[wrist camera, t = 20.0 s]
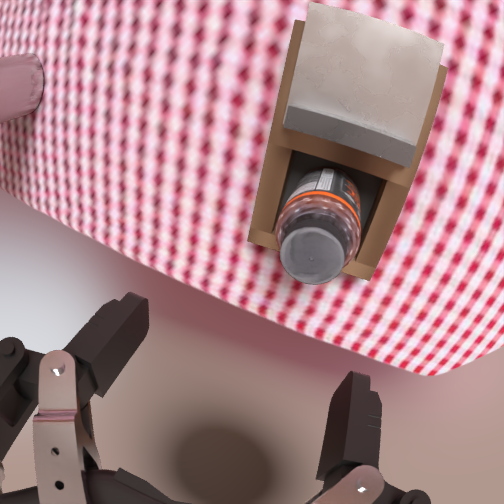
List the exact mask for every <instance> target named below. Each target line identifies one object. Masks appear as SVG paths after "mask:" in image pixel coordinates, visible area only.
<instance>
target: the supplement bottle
mask: <svg viewBox="0 0 504 504" xmlns="http://www.w3.org/2000/svg"><path fill="white" fill-rule="evenodd" d="M360 209H361V208H360V195H359V191H358V188H357V186H356V184H355V182H354V181H353V180H352V178H351V177H350V176H349V175H348V174H346V173H345V172H344V171H342V170H340V169H337V168H333V167H318V168H315V169H312V170H310V171H309V172H307V173H306V174H305V175H304V176H303V177H302V178H301V179H300V180H299V182H298V183H297V185H296V187H295V189H294V190H293V192H292V194H291V196H290V197H289V199H288V201H287V202H286V204H285V206H284V208H283V209H282V212H281V213H280V215H279V218H278V220H277V223H276V228H275V238H276V243H277V246H278V249H279V251H280V259H281V263H282V265H283V267H284V269H285V270H286V272H287V273H288V274H289V275H290V276H292V277H293V278H294V279H296V280H298V281H300V282H302V283H306V284H313V285H318V284H323V283H327V282H329V281H331V280H332V279H334V278H335V277H336V276H337V275H338V274H339V273H340V272H341V270H342V268H344V267H345V266H347V265H348V264H349V263H350V262H351V261H352V260H353V258H354V257H355V255H356V253H357V251H358V249H359V245H360V240H361V212H360V211H361V210H360Z"/></svg>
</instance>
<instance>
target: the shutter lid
mask: <svg viewBox="0 0 504 504" xmlns="http://www.w3.org/2000/svg"><path fill="white" fill-rule="evenodd" d="M443 47H444V44H443V43H440V42H438V41H436V40H433V39H431V38H429V37H426V36H424V35H422V34H419V33H416V32H414V31H411V30H409V29H406V28H403V27H401V26H398V25H395V24H392V23H389V22H386V21H383V20H380V19H377V18H374V17H370V16H367V15H363V14H360V13H356V12H353V11H349V10H345V9H341V8H337V7H333V6H328V5H324V4H319V3H314V2H310V4H309V9H308V13H307V18H306V22H305V27H304V31H303V36H302V40H301V44H300V49H299V53H298V58H297V62H296V67H295V71H294V76H293V80H292V85H291V89H290V93H289V98H288V102H287V107H286V111H285V116H284V120H283V124H284V126H283V127H284V128H288V129H291V130H295V131H299V132H302V133H306V134H309V135H313V136H316V137H320V138H323V139H326V140H330V141H333V142H336V143H339V144H342V145H346V146H349V147H352V148H355V149H358V150H361V151H364V152H367V153H369V154H372V155H375V156H378V157H381V158H383V159H386V160H389V161H392V162H394V163H397V164H399V165H402V166H405V167H407V168H410V166H411V163H412V161H413V158H414V155H415V152H416V149H417V146H416V145H417V141H418V138H419V135H420V132H421V129H422V126H423V123H424V119H425V116H426V113H427V109H428V106H429V102H430V99H431V95H432V92H433V88H434V84H435V81H436V77H437V73H438V69H439V65H440V60H441V56H442V52H443Z"/></svg>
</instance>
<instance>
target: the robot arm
mask: <svg viewBox="0 0 504 504" xmlns="http://www.w3.org/2000/svg"><path fill="white" fill-rule="evenodd" d="M43 84H44V77H43V69H42V66H41V63H40V61H39V59H38V58H37V57H36V56H35V55H34V54H31V53H27V54H20V55H14V56H8V57H1V58H0V123H3V122H6V121H9V120H12V119H15V118H18V117H21V116H24V115H27V114H30V113H32V112H33V111H34V110H35V109H36V108H37V106H38V104H39V102H40V99H41V96H42V92H43ZM148 329H149V307H148V299H146V298H144V297H142V296H139V295H137V294H135V293H132V292H128V293H127V294H126V295H125V296H124V297H123V299H121V301H118V300H116V299H114V300H112V301H110V302H108V303H106V304H104V305H103V306H102V307H101V308H100V309H99V310H98V311H97V312H96V313H95V315H94V316H93V317H92V318H91V319H90V320H89V322H88V323H86V324H85V325H84V327H83V328H82V329H81V330H80V331H79V332H78V333H77V335H75V337H74V338H73V339H72V340H71V341H70V342H69V343H68V345H67V346H66V347H65V348H64V349H62V350H54V351H51V352H49V353H47V354H42V353H39V352H35V351H31V350H27V349H25V347H24V345H23V343H22V341H20V340H19V339H18V338H15V337H8V338H5V339H3V340H1V341H0V504H190V503H184V502H177V501H173V500H171V499H170V498H168V497H167V496H165V495H164V494H163V493H161V492H160V491H159V490H157V489H156V488H154V487H153V486H152V485H151V484H150V483H148V482H147V481H145V480H143V479H141V478H139V477H137V476H135V475H133V474H131V473H129V472H127V471H125V470H123V469H121V468H119V469H118V471H112V470H103V469H102V466H101V461H100V456H99V453H98V450H97V447H96V443H95V438H94V431H93V424H92V414H91V405H90V399H91V397H92V396H93V394H94V393H95V394H97V395H99V396H100V397H102V398H103V397H104V395H105V393H106V392H107V390H108V389H109V388H110V386H111V385H112V384H113V382H114V381H115V379H116V378H117V376H118V375H119V374H120V372H121V371H122V369H123V368H124V366H125V365H126V364H127V362H128V361H129V359H130V358H131V357H132V355H133V354H134V352H135V351H136V350H137V348H138V347H139V345H140V344H141V343H142V341H143V340H144V338H145V337H146V335H147V332H148ZM38 404H39V411H38V414H37V415H34V418H33V442H34V443H33V444H34V458H35V469H36V479H37V486H34V487H30V488H26V489H22V490H18V491H13V492H9V493H4V494H3V493H2V488H1V483H2V481H3V480H4V478H5V475H4V467H3V464H2V460H3V459H4V457H5V455H6V454H7V452H8V450H9V449H10V447H11V445H12V444H13V442H14V441H15V439H16V437H17V436H18V434H19V433H20V431H21V430H22V428H23V426H24V425H25V423H26V422H27V420H28V419H29V417H30V416H31V414H32V413H33V411H34V410H35V408H36V407H37V405H38ZM381 416H382V403H381V401H380V398H379V395H378V393H377V392H374V391H370V376H369V375H365V374H361V373H357V372H354V371H350V372H349V373H348V374H347V376H346V377H345V379H344V380H343V381H342V383H341V384H340V386H339V387H338V388H337V390H336V391H335V392H334V394H333V397H332V399H331V402H330V406H329V412H328V418H327V425H326V430H325V435H324V441H323V446H322V451H321V457H320V461H319V466H318V471H317V475H316V479H317V480H322V481H324V485H323V489H322V490H320V491H319V492H318V493H316V494H315V495H314V496H313V497H311V498H310V499H309V500H307V501H306V502H305V503H303V504H431V501H430V498H429V496H428V495H427V494H426V493H425V492H424V491H421V490H411V491H409V492H407V493H406V492H404V491H402V490H400V489H398V488H396V487H394V486H391V485H390V484H388V483H387V482H385V480H384V479H383V476H382V474H381V473H380V471H379V467H378V461H379V450H380V436H381V429H380V428H381Z"/></svg>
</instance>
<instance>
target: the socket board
mask: <svg viewBox="0 0 504 504" xmlns="http://www.w3.org/2000/svg"><path fill="white" fill-rule="evenodd" d="M304 27H305V21H300V20H295V22H294V26H293V31H292V35H291V40H290V44H289V49H288V54H287V58H286V63H285V67H284V72H283V76H282V81H281V86H280V90H279V95H278V99H277V104H276V109H275V113H274V118H273V122H272V127H271V132H270V136H269V141H268V146H267V150H266V155H265V160H264V164H263V169H262V174H261V178H260V183H259V188H258V193H257V197H256V202H255V207H254V212H253V216H252V221H251V226H250V231H249V235H248V240H247V241H248V242H251V243H255V244H258V245H261V246H264V247H267V248H270V249H273V250H276V251H279V249H278V246H277V243H276V238H275V228H276V223H277V220H278V218H279V215H280V213H281V212H282V209H283V208H284V206H285V204H286V202H287V201H288V199H289V197H290V196H291V194H292V192H293V190H294V189H295V187H296V185H297V183H298V182H299V180H300V179H301V178H302V177H303V176H304V175H305V174H306V173H307V172H309V171H310V170H312V169H315V168H318V167H333V168H337V169H340V170H342V171H344V172H345V173H346V174H348V175H349V176H350V177H351V178H352V180H353V181H354V182H355V184H356V186H357V188H358V191H359V195H360V208H361V209H360V210H361V211H360V212H361V240H360V245H359V249H358V251H357V253H356V255H355V257H354V258H353V260H352V261H351V262H350V263H349V264H348V265H347V266H345V267H344V268H342V270H341V272H343V273H346V274H349V275H352V276H356V277H359V278H362V279H365V280H368V281H370V279H371V277H372V275H373V273H374V271H375V269H376V267H377V265H378V263H379V260H380V258H381V256H382V254H383V252H384V249H385V247H386V245H387V243H388V241H389V238H390V236H391V234H392V231H393V229H394V227H395V224H396V222H397V220H398V217H399V215H400V212H401V210H402V207H403V205H404V203H405V200H406V197H407V195H408V192H409V190H410V187H411V185H412V182H413V179H414V177H415V174H416V171H417V168H418V166H419V163H420V160H421V157H422V154H423V151H424V148H425V146H426V143H427V140H428V136H429V133H430V130H431V127H432V124H433V121H434V117H435V114H436V111H437V107H438V104H439V100H440V97H441V93H442V90H443V86H444V82H445V78H446V74H447V70H448V68H447V67H445V66H442V65H439V69H438V73H437V77H436V81H435V84H434V88H433V92H432V95H431V99H430V102H429V106H428V109H427V113H426V116H425V119H424V123H423V126H422V129H421V132H420V135H419V138H418V141H417V145H416V146H417V149H416V152H415V155H414V158H413V161H412V163H411V166H410V168H407V167H405V166H402V165H399V164H397V163H394V162H392V161H389V160H386V159H383V158H381V157H378V156H375V155H372V154H369V153H367V152H364V151H361V150H358V149H355V148H352V147H349V146H346V145H342V144H339V143H336V142H333V141H330V140H326V139H323V138H320V137H316V136H313V135H309V134H306V133H302V132H299V131H295V130H291V129H288V128H284V127H283V126H284V124H283V120H284V116H285V111H286V107H287V102H288V98H289V93H290V89H291V85H292V80H293V76H294V71H295V67H296V62H297V58H298V53H299V49H300V44H301V40H302V36H303V31H304ZM279 252H280V251H279Z"/></svg>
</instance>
